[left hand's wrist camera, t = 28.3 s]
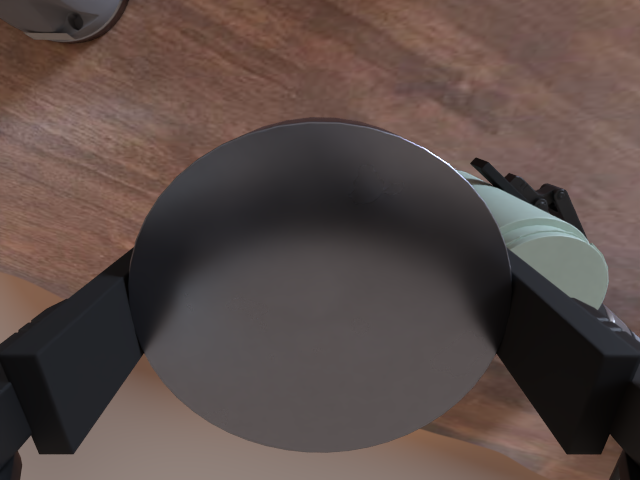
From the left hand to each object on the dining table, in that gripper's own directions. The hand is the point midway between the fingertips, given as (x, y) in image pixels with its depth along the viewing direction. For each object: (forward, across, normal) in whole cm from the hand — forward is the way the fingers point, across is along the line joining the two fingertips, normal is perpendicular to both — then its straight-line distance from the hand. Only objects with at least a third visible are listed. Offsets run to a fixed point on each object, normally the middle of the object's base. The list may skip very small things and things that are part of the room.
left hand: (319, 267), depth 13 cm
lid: (-3, 0, 0) cm, 3 cm away
